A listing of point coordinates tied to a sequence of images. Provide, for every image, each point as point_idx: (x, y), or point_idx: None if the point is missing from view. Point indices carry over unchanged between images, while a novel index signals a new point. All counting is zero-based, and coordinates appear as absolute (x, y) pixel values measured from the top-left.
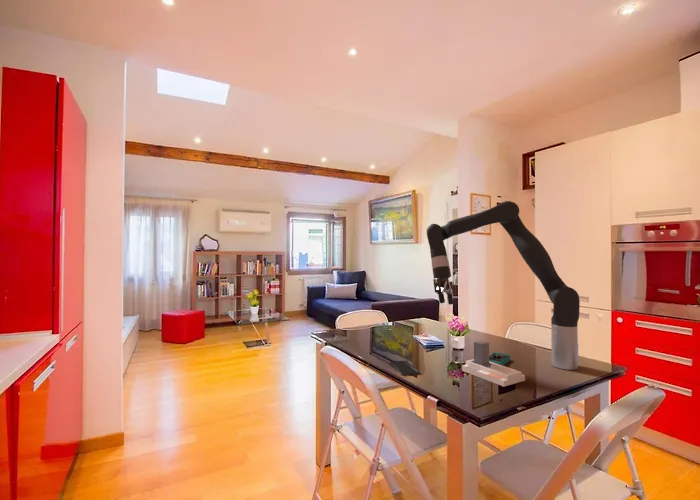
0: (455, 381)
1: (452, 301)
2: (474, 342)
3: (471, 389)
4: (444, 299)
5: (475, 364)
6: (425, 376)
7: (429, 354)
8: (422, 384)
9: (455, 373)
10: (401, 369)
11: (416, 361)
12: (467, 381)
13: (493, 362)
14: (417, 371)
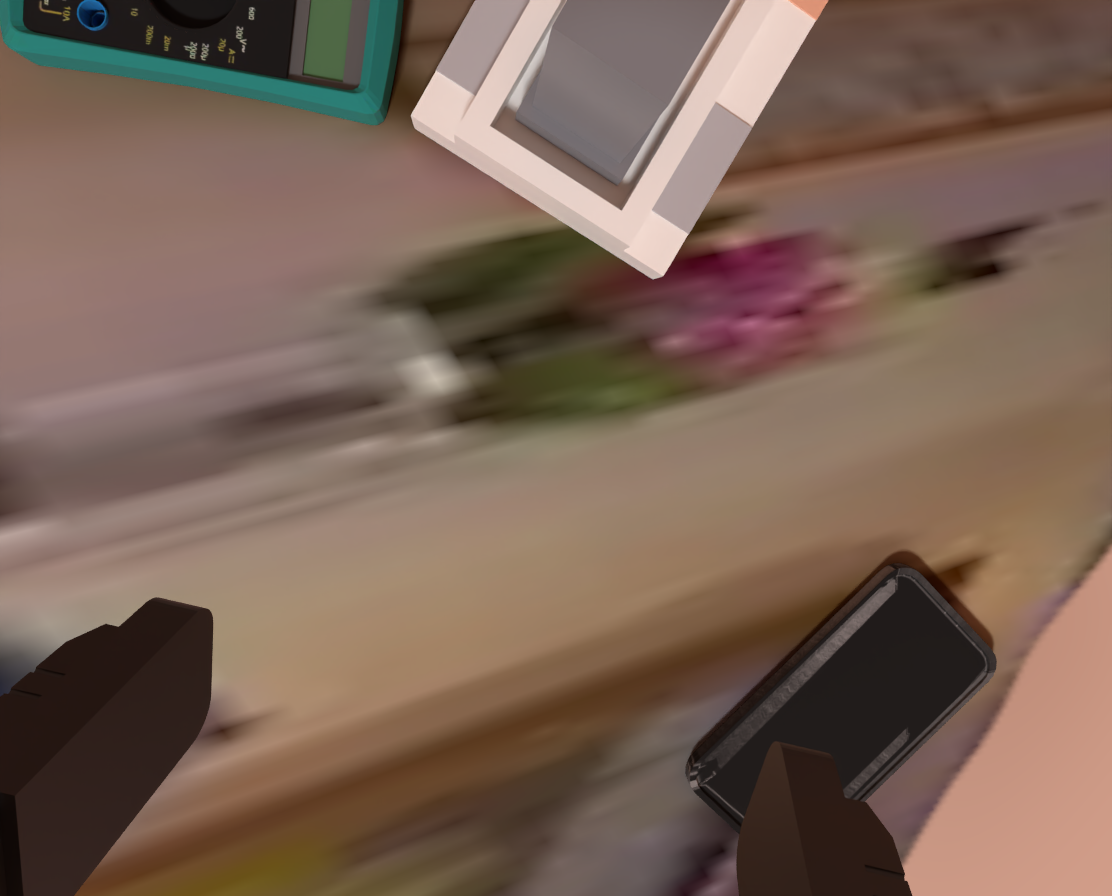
0: (933, 270)
1: (168, 652)
2: (671, 97)
3: (1042, 125)
4: (798, 804)
5: (695, 135)
6: (930, 506)
7: (323, 675)
8: (1094, 471)
9: (752, 313)
10: (902, 713)
11: (604, 699)
12: (892, 183)
13: (396, 3)
14: (890, 589)
